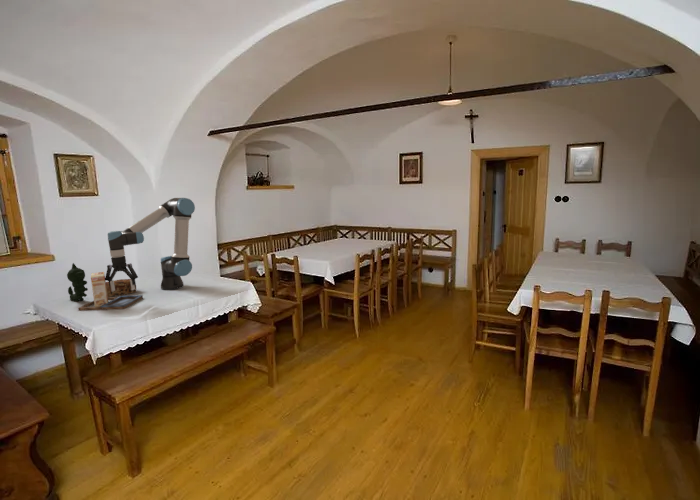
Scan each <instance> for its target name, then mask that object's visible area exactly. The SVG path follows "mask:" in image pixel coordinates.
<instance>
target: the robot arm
mask: <svg viewBox="0 0 700 500" xmlns="http://www.w3.org/2000/svg"><path fill="white" fill-rule="evenodd" d="M195 210H196V206H195V203H194V201H193V200H191V199H190V198H187V197H174V198H171V199H170V198H169V200H167V201H165V202H164V203H162V204H161V205H159V206H158V208H157V209H156V210H154V211H152V212H151V213H150V214H148V215H146V216H145V217H143V218H141V219H140V220H138V221H137V222H135V223H134V224H132V225H130V226H128V227H127V228H125V229H124V230H115V231H114V230H113V231H109V232H107V241H108V247H109V254H110V257H111V258H110V260H111V261H110V262H111V264H108V265H107V266H106V267H107V268H106V273H105V281H106V282H109V286H111V291H112V292H113V291H115V286H114V281H115V280H114V277H115V275H116V274H117V272H123V273H125V274H126V276H127V277H128V279H131V280H130V283H131V289H132V290H135V284H137V283H136V279H138V278H139V276H138V274H137V273H136V271H135V270H134V268H133V264H132V262H131V263H127V259H126V256H125V255H126V254H125V253H126V252H125V246H126V247H127V246H133V245H139V244H142V243H144V241H145V237H144V234H143V233H144V232H146V231H147V230H149V229H151V228H152V227H153V226H155V225H157V224H158V223H160V222H161V221H162V220H164V219H166V218H168V219H169V218H170V217H172V216H173V217H172V218H174V222H175V223H174V224H175V225H174V244H173V254H172V255H168V256H162V257H161V258H160V266H161V275H162V279H161V282H160V289H161V290H164V291H171V290H178V289H181V288H183V287H185V285H184V281H183V279H182V277H185V276H188V275H189V274H190V273H191V271H192V270H193V264H192V262H191V261H190V255H188V249H189V248H188V247H189V227H190V226H189V225H190V224H189V223H190V220H191V219H192V214H194V212H195ZM112 268H113V269H112Z"/></svg>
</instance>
